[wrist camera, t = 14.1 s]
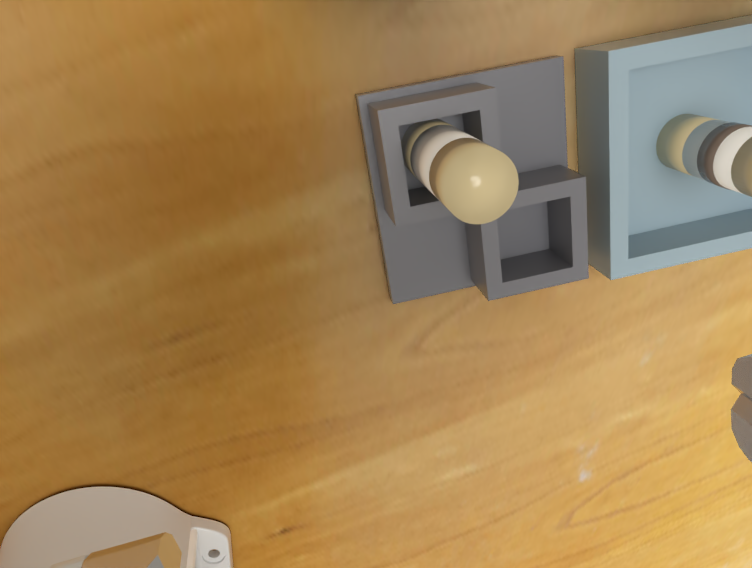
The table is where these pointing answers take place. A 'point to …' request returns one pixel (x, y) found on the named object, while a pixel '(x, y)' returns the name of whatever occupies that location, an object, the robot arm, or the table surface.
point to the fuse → (460, 170)
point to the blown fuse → (708, 150)
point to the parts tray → (638, 145)
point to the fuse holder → (524, 217)
